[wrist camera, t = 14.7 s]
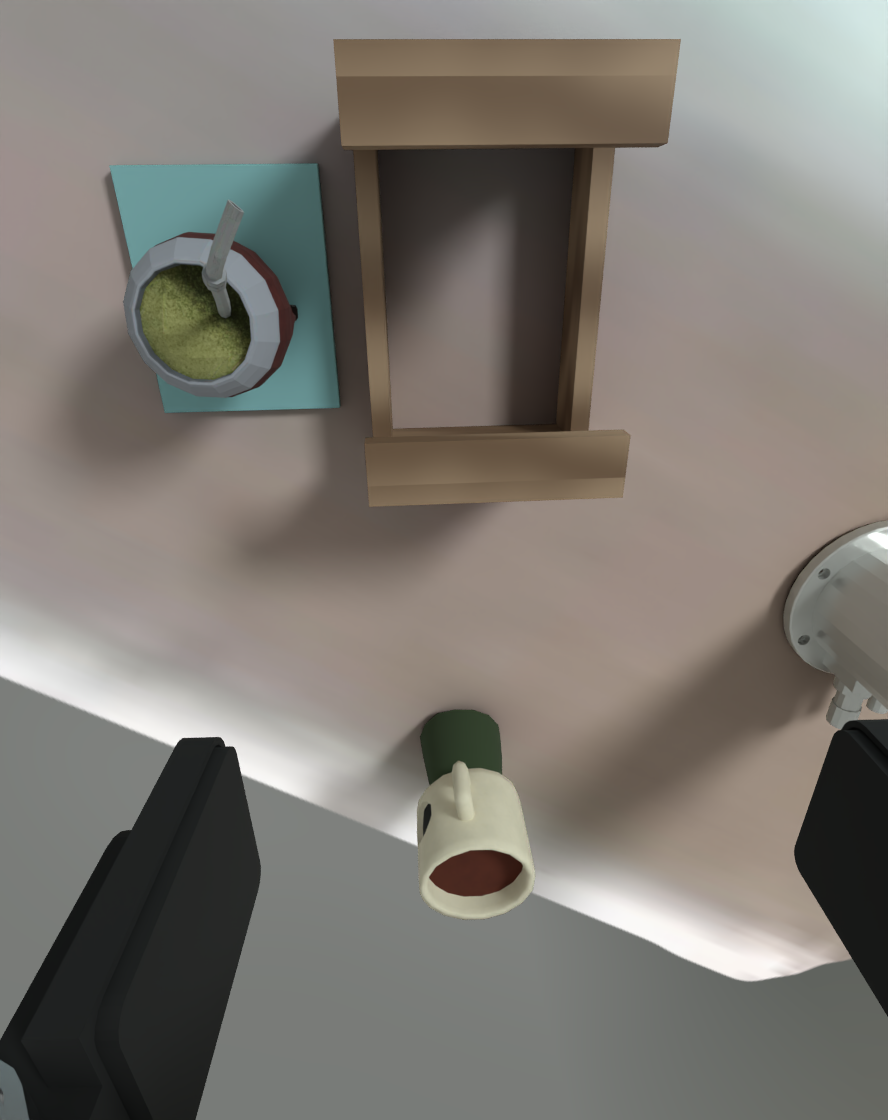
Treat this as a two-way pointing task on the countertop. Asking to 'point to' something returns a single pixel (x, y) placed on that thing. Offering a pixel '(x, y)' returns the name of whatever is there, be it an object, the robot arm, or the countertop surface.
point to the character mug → (470, 822)
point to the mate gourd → (209, 312)
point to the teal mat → (269, 230)
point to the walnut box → (594, 131)
